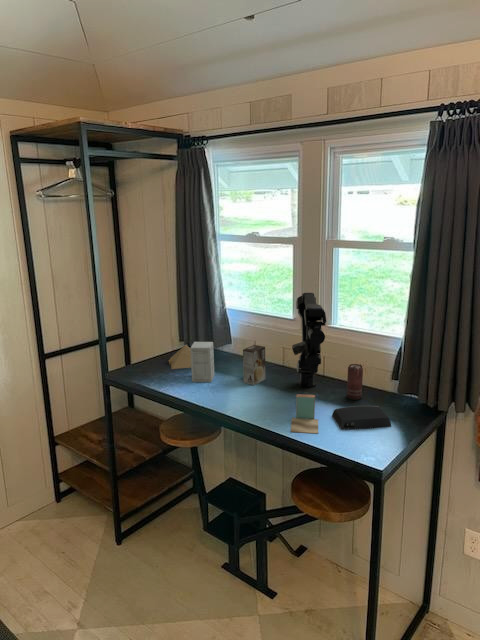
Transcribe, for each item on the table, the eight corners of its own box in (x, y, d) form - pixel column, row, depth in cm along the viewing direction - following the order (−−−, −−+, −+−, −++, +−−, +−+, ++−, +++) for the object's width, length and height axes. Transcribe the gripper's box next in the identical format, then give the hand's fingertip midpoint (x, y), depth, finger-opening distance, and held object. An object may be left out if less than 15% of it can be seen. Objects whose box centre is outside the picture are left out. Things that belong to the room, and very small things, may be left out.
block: (296, 415, 192) (296, 394, 190) (314, 416, 191) (314, 395, 189) (295, 418, 190) (296, 396, 188) (314, 419, 189) (314, 397, 187)
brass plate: (291, 418, 190) (291, 417, 190) (318, 420, 188) (318, 419, 188) (290, 432, 179) (290, 431, 179) (318, 433, 178) (318, 432, 178)
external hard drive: (331, 416, 193) (331, 406, 192) (379, 413, 195) (379, 403, 193) (341, 431, 180) (341, 421, 179) (392, 428, 182) (393, 418, 181)
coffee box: (254, 376, 233) (254, 344, 229) (265, 379, 229) (265, 346, 225) (243, 382, 226) (242, 349, 222) (254, 385, 222) (254, 351, 218)
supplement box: (214, 375, 235) (214, 341, 231) (211, 382, 226) (210, 347, 222) (195, 374, 236) (193, 341, 232) (191, 382, 227) (190, 347, 223)
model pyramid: (168, 359, 260) (167, 341, 257) (200, 356, 263) (200, 338, 260) (169, 370, 244) (168, 350, 241) (204, 367, 247) (203, 348, 244)
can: (351, 401, 205) (352, 369, 201) (344, 395, 210) (345, 364, 207) (364, 399, 206) (366, 367, 202) (357, 393, 212) (358, 362, 208)
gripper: (294, 330, 209) (293, 364, 213) (292, 343, 191) (291, 380, 195) (321, 330, 207) (319, 365, 211) (321, 344, 189) (320, 382, 193)
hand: (312, 373), depth 203 cm, fingers open, 3 cm apart
